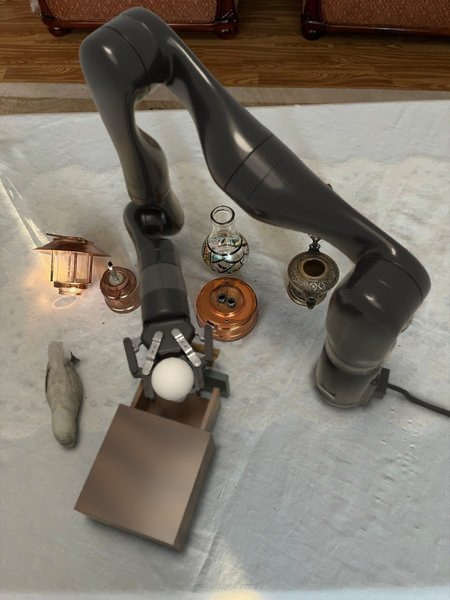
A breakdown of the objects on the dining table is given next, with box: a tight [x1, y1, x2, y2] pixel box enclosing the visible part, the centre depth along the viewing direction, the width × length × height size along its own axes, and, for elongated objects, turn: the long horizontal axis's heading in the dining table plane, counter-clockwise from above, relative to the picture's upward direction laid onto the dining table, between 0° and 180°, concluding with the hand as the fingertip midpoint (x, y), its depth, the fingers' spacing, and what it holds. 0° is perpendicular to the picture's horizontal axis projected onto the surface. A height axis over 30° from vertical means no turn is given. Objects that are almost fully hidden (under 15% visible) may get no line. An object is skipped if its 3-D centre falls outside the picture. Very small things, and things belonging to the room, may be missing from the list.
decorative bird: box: [44, 340, 82, 448], centre depth 85 cm, size 5×16×8 cm, turn 11°
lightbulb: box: [151, 357, 194, 403], centre depth 78 cm, size 6×6×11 cm
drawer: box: [129, 341, 231, 433], centre depth 83 cm, size 19×13×8 cm
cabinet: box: [73, 403, 216, 552], centre depth 77 cm, size 16×15×10 cm
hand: (175, 397), depth 76 cm, fingers closed on lightbulb, 6 cm apart
